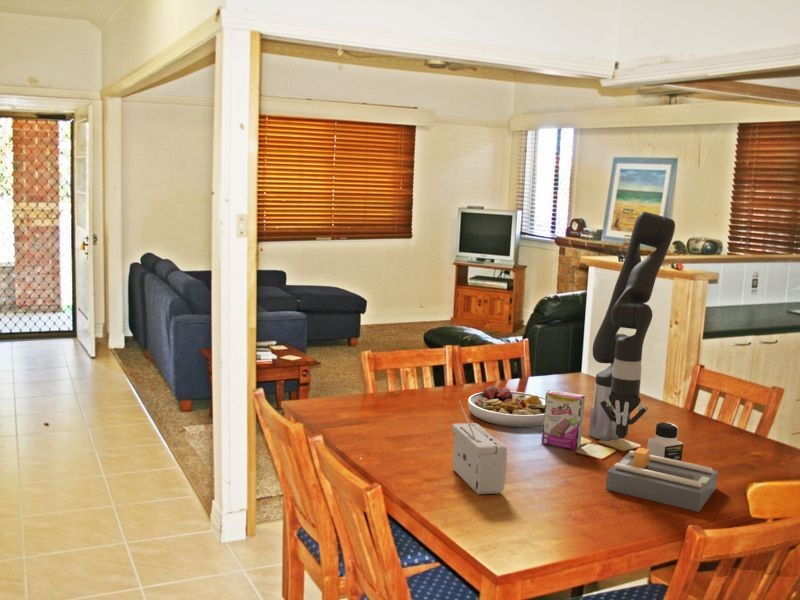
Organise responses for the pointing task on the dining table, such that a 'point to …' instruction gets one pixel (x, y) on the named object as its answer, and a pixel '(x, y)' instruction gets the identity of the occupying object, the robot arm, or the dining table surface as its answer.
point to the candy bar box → (563, 419)
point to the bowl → (508, 407)
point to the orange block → (641, 457)
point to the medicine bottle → (666, 442)
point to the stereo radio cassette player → (479, 458)
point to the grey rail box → (664, 481)
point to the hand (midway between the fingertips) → (621, 437)
